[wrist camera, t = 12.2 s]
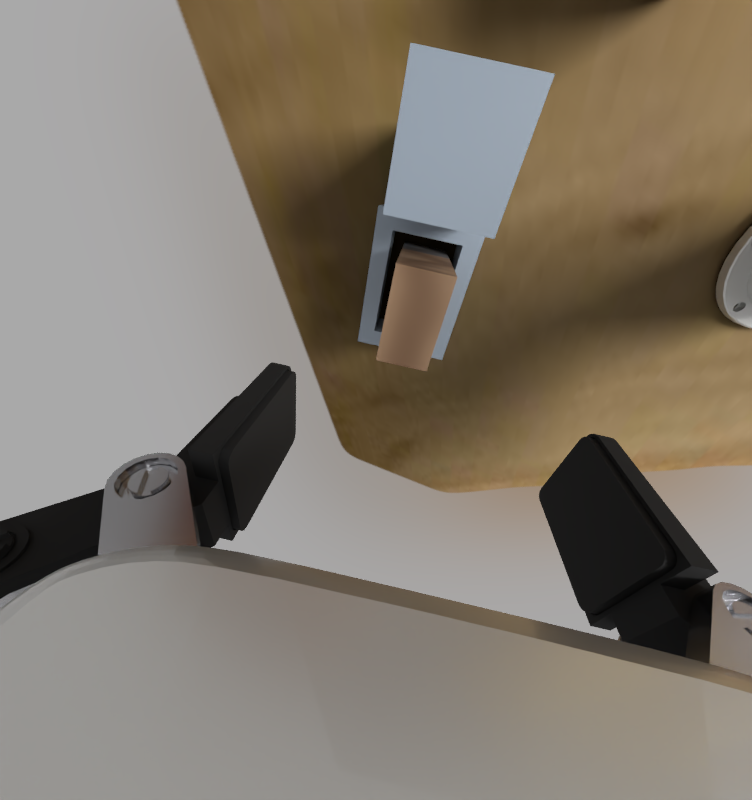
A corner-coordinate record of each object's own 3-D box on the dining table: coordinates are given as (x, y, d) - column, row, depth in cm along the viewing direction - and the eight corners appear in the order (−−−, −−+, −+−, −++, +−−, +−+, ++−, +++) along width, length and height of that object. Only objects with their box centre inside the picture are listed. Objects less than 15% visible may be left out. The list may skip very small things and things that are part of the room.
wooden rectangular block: (445, 250, 28) (457, 277, 18) (425, 319, 32) (426, 371, 22) (405, 241, 28) (395, 263, 18) (390, 311, 32) (375, 359, 22)
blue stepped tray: (508, 139, 23) (591, 81, 12) (440, 344, 34) (448, 418, 22) (398, 115, 23) (374, 34, 12) (364, 327, 34) (333, 393, 22)
